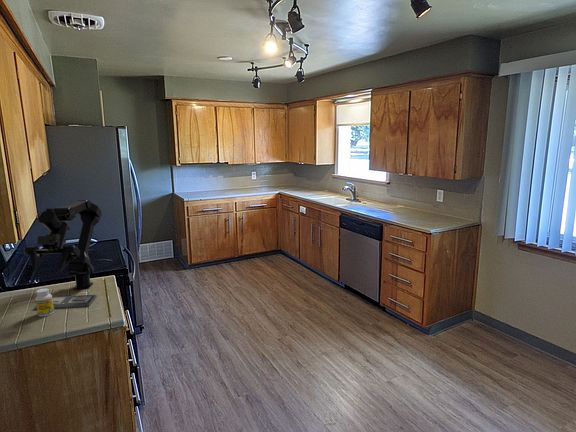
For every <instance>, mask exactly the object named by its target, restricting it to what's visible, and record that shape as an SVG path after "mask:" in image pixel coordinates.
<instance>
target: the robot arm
mask: <svg viewBox="0 0 576 432" xmlns="http://www.w3.org/2000/svg"><path fill="white" fill-rule="evenodd" d="M101 210H102V209H100V207H99V206H98V205H96V204H94V203H93V202H92V201H91V200H89V199H79V200H76V201H75V202H73V203H71V204H68V205H66V206H56V207H54V208H52V207H47V208H46V210H45V211H42V212H41V213H40V214H39V215H38V217H37V219H38V221H39V223H40V224H41V225H42V226H44V227H45V229H47V230H48V231H49V233H48V234H46V235H37V236H36V237H37V238H36V245H31V246H30V245H29V246H25V247H24V248H23V254H24V255H26V256H27V257H29V258H30V261H31V266H32V267H31V268H32V273H33V274H36V273H37V271H38V270H39V267H40V264H41V262H42V260H43V259H42V258H41V257H42V256H43V255H59V254H60V255H61V258H60V259H61V260H60V261H59V265H58V266H59V267H58V270H57V272H58V273H62V272H63V270H65V269H66V267H67V270H68V274H69V276H74V278H75V279H74V280H75V286H73V290H83V289H84V290H85V289H90V287H92V286H93V284H94V282H93V281H92V282H91V278H90V276H91V275H93V274H94V271H95V266H93V264H92V263H91V259H90V257H89V250H90V245H91V242H92V238H93V234H94V232H93V231H94V228H95V226H96V225H97V224H98V223H100V219H101V217H102V215H103V213H102V211H101ZM77 214H79V217H80V220H81V222H82V225H81V230H80V234H79V238H78V242H77V246H75V245H74V244H73V245H72V244H71V245H70V244H69V245H68V244H67V245H64V244H66V243H67V240H66V235H67V232H68V231H70V230H71V227H70V226H69V224H68V223H66V222H72V221H73V220H74V219H75V218H76V215H77ZM38 245H40V246H41V247H42V248H39V247H38Z"/></svg>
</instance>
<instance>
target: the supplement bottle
mask: <svg viewBox="0 0 576 432" xmlns="http://www.w3.org/2000/svg"><path fill="white" fill-rule="evenodd" d="M52 297H53V295H52V294H51V293H50V290H49V288H40V289H38V290H36V296H35V299H34V300H35V306H36V307H37V309H36V312H37V316H38V317H47V316H50V315H53V314H54V312H55V308H54V307H53V300H52Z"/></svg>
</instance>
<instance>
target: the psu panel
mask: <svg viewBox="0 0 576 432" xmlns="http://www.w3.org/2000/svg"><path fill="white" fill-rule="evenodd" d="M97 297H98V295H97V294H86V295H85V294H84V295H82V294H81V295H68V296H67V295H66V296H52V300H53V307H54V309H66V308H67V309H69V308H85V307H90V306H91V305H92V304H93V302H95V300H96V299H97ZM34 310H35V311H37V307H36V305H35V306H34Z"/></svg>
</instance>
